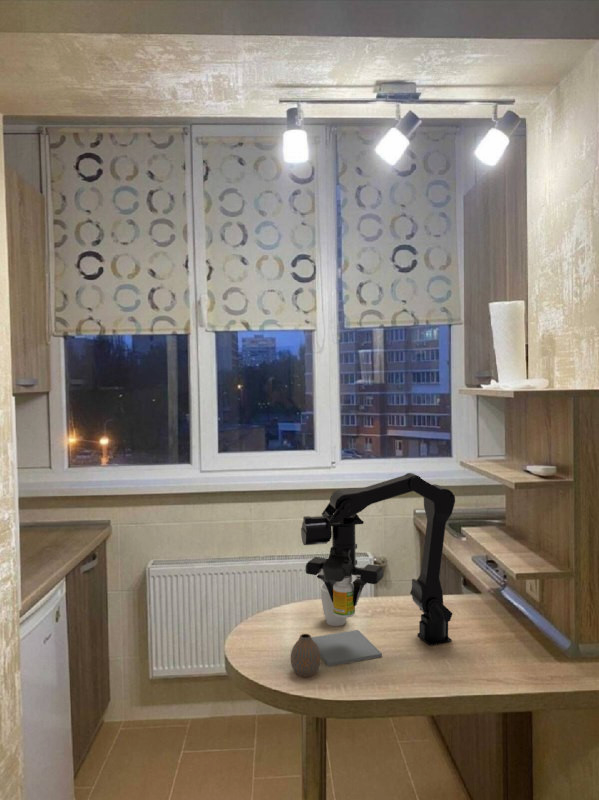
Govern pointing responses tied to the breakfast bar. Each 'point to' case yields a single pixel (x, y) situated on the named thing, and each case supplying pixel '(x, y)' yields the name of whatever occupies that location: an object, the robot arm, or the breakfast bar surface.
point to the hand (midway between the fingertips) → (344, 603)
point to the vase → (305, 656)
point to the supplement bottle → (343, 598)
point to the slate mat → (345, 647)
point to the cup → (330, 609)
